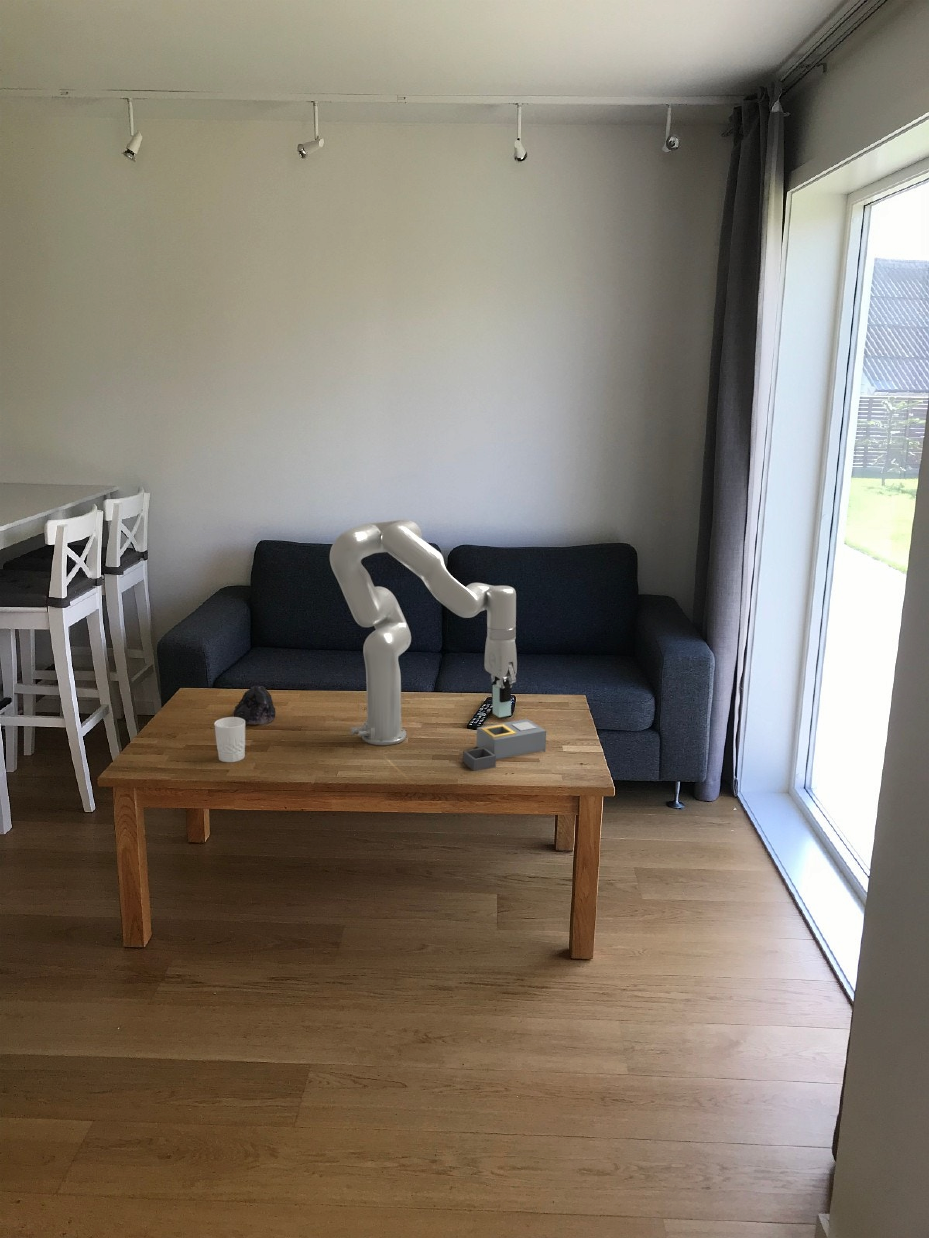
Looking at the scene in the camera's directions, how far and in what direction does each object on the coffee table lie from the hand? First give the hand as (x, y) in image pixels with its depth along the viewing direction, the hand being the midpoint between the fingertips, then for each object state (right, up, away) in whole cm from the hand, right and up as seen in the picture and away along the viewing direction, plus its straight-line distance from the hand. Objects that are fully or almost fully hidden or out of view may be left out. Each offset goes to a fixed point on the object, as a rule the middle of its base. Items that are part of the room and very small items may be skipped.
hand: (501, 698), depth 248 cm
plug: (0, -4, +1) cm, 5 cm away
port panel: (+3, -15, +6) cm, 16 cm away
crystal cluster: (-72, -8, +27) cm, 77 cm away
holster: (-6, -17, -5) cm, 19 cm away
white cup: (-72, -16, -2) cm, 73 cm away
